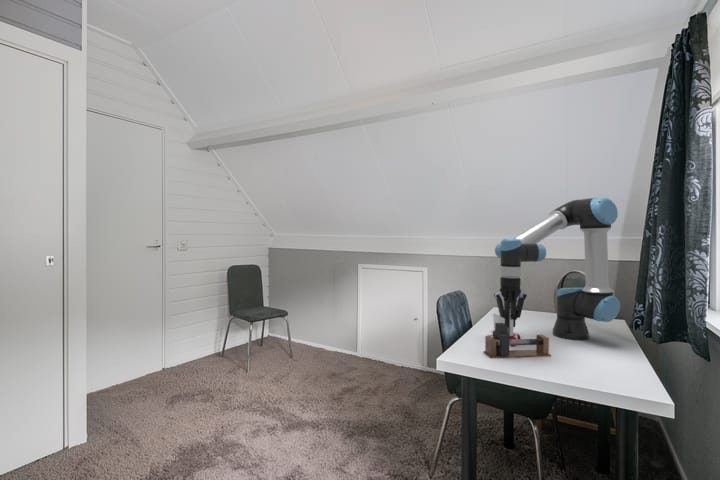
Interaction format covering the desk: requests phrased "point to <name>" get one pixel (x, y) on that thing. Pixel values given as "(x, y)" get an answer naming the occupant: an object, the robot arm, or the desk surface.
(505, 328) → the dark grey stepped block
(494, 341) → the rail
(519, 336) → the alarm clock
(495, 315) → the cup
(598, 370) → the desk surface
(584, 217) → the robot arm
